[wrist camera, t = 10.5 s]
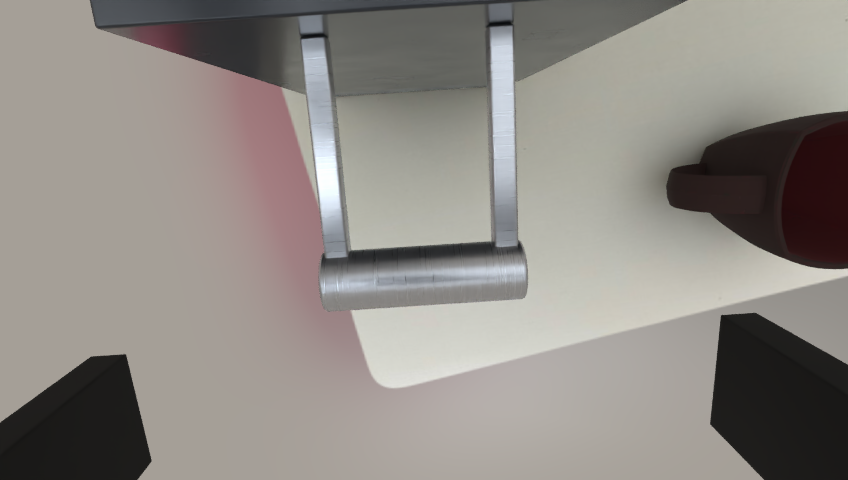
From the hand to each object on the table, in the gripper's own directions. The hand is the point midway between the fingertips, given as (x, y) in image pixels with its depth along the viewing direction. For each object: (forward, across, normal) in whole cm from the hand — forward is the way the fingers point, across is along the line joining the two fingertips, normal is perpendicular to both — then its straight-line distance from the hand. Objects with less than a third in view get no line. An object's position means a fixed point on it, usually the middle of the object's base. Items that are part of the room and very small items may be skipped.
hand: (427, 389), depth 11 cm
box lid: (+12, 0, +9) cm, 15 cm away
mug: (+31, +25, 0) cm, 40 cm away
